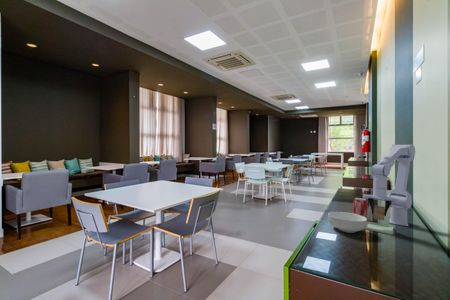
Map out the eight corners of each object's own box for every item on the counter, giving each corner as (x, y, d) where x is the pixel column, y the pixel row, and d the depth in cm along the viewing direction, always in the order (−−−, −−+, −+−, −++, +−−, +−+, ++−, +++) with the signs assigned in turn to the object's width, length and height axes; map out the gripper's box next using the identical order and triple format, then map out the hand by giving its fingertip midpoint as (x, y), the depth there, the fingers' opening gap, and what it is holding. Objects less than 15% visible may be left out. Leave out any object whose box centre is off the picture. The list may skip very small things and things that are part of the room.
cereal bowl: (366, 228, 112) (367, 215, 112) (366, 239, 98) (367, 223, 98) (329, 222, 121) (330, 209, 121) (325, 230, 107) (325, 216, 107)
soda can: (369, 222, 123) (369, 200, 123) (355, 220, 125) (356, 199, 125) (363, 218, 130) (364, 198, 130) (350, 217, 132) (351, 197, 132)
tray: (365, 223, 121) (365, 221, 121) (392, 228, 114) (392, 226, 114) (363, 229, 111) (364, 226, 111) (393, 235, 104) (393, 232, 104)
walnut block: (373, 216, 115) (374, 205, 115) (384, 218, 113) (384, 206, 113) (373, 218, 112) (373, 206, 112) (384, 220, 109) (384, 208, 109)
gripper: (362, 187, 113) (361, 213, 113) (398, 190, 105) (397, 219, 105) (363, 185, 119) (362, 210, 119) (397, 189, 111) (396, 216, 111)
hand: (378, 214), depth 112 cm, fingers closed on walnut block, 4 cm apart
